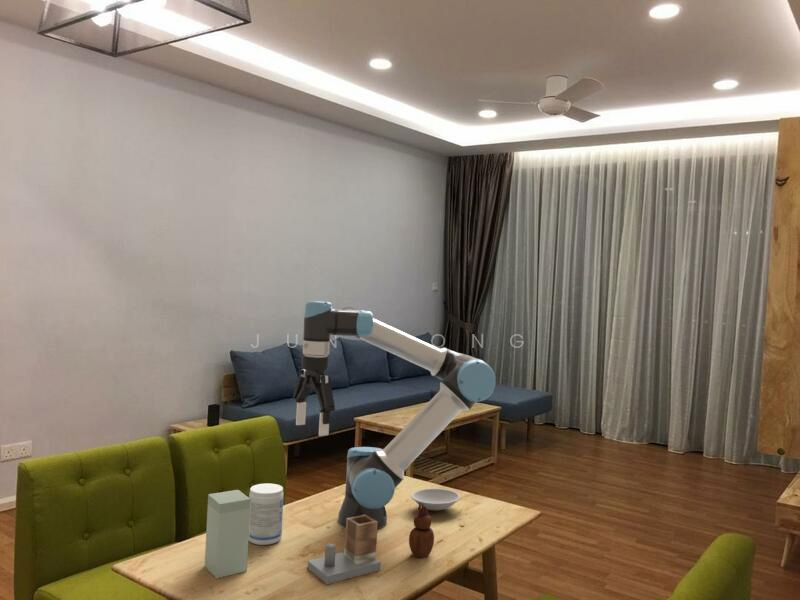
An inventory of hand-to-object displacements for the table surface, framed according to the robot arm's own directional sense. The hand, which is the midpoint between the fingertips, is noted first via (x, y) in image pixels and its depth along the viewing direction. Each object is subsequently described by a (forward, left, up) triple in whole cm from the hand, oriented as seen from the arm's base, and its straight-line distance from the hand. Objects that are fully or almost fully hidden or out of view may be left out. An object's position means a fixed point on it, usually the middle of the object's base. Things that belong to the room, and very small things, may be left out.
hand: (311, 429), depth 180 cm
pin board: (0, +21, -32) cm, 38 cm away
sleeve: (-5, +21, -30) cm, 37 cm away
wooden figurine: (-23, +24, -32) cm, 46 cm away
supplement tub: (+10, -6, -32) cm, 34 cm away
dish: (-49, -1, -32) cm, 59 cm away
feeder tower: (+26, +6, -32) cm, 41 cm away
